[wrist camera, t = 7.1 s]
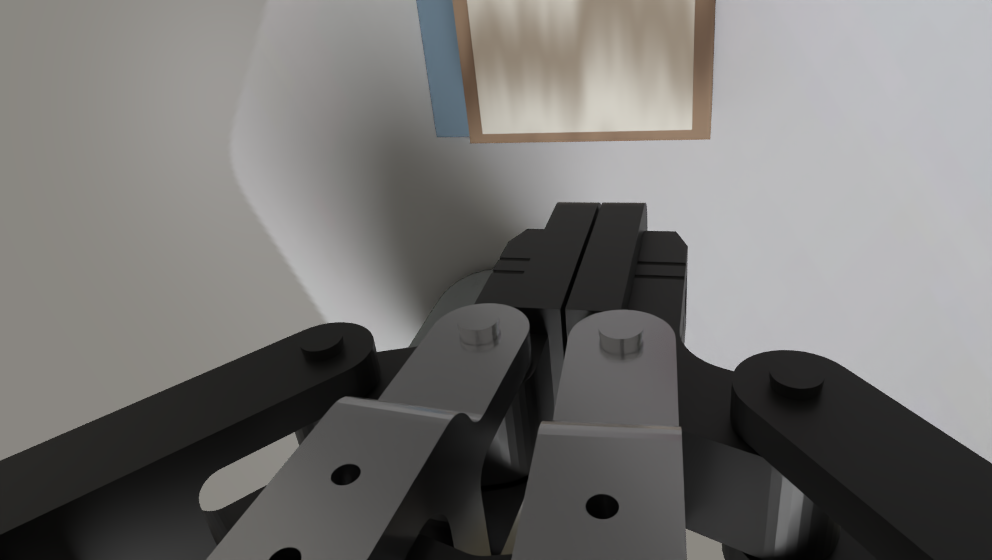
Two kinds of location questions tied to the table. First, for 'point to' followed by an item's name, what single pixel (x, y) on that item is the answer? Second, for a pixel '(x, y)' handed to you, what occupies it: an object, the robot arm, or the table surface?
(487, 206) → the table surface
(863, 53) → the table surface
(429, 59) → the rubber mat
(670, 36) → the wooden block
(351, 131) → the table surface
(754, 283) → the table surface
